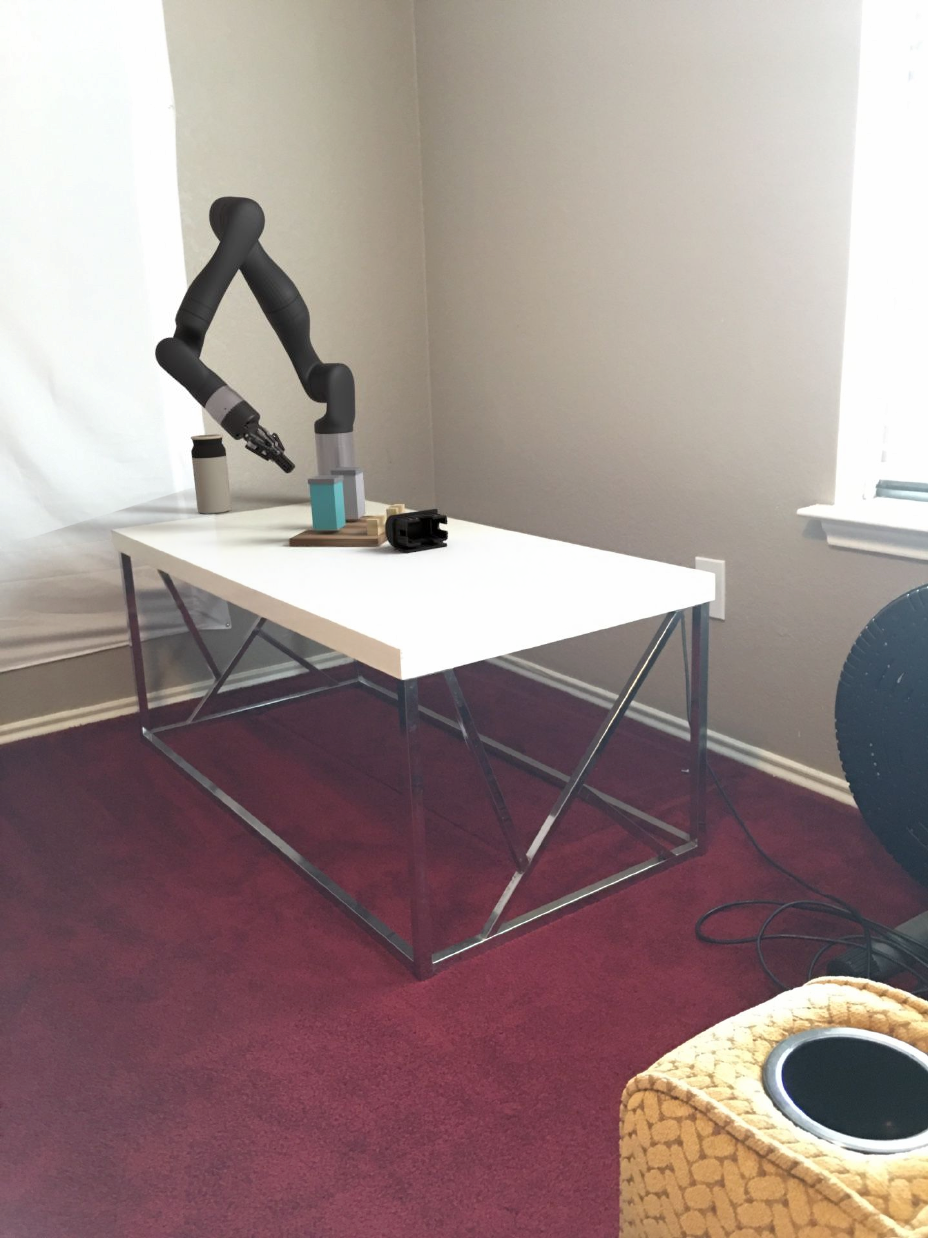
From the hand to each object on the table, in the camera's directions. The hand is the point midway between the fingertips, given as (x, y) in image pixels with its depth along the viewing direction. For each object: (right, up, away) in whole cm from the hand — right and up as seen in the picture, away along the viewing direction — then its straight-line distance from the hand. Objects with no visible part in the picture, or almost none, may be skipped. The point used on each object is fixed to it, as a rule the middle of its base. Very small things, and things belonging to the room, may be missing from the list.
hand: (291, 470), depth 218 cm
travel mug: (-23, -6, +31) cm, 39 cm away
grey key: (+12, -10, 0) cm, 16 cm away
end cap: (+28, -18, -23) cm, 40 cm away
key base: (+14, -14, -6) cm, 21 cm away
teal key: (+10, -13, -12) cm, 20 cm away
